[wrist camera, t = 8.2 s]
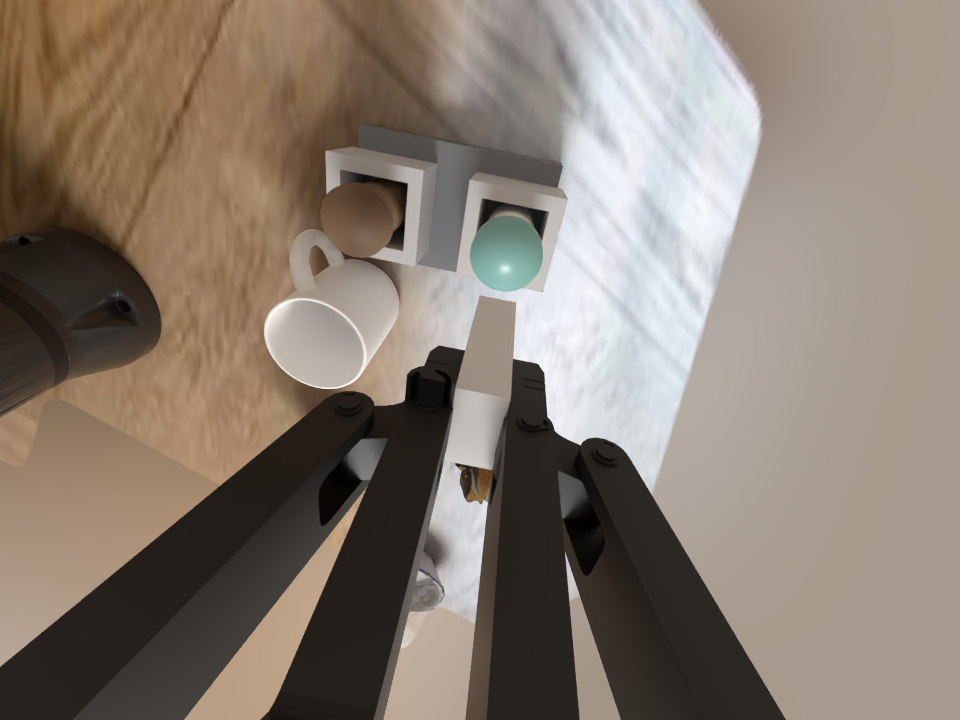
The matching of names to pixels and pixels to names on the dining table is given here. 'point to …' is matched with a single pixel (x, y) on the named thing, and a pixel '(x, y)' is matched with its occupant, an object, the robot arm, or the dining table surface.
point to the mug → (330, 316)
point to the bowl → (426, 587)
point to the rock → (474, 482)
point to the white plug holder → (450, 194)
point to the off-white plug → (507, 249)
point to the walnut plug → (363, 215)
